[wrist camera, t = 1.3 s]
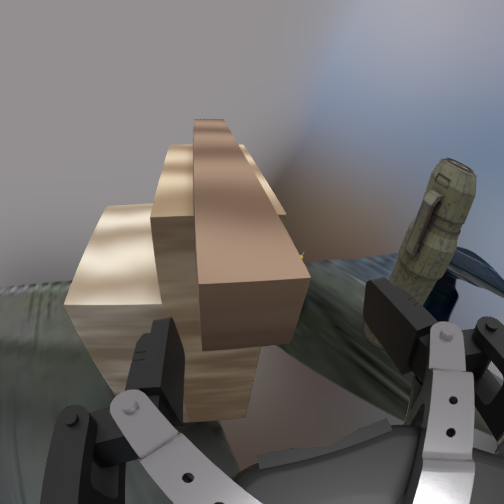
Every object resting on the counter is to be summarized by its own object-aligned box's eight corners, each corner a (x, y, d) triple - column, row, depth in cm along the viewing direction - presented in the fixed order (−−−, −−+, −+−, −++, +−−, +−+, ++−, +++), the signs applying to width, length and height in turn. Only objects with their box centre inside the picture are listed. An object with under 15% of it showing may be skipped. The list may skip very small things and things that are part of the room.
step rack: (138, 337, 45) (99, 150, 26) (229, 333, 48) (243, 144, 30) (135, 422, 32) (33, 225, 14) (245, 417, 36) (286, 214, 17)
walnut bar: (192, 146, 28) (193, 119, 26) (221, 146, 28) (223, 119, 26) (202, 351, 9) (198, 284, 7) (290, 343, 9) (311, 277, 8)
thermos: (348, 329, 51) (418, 148, 31) (385, 309, 56) (449, 154, 36) (377, 361, 45) (473, 178, 24) (412, 335, 50) (493, 179, 29)
